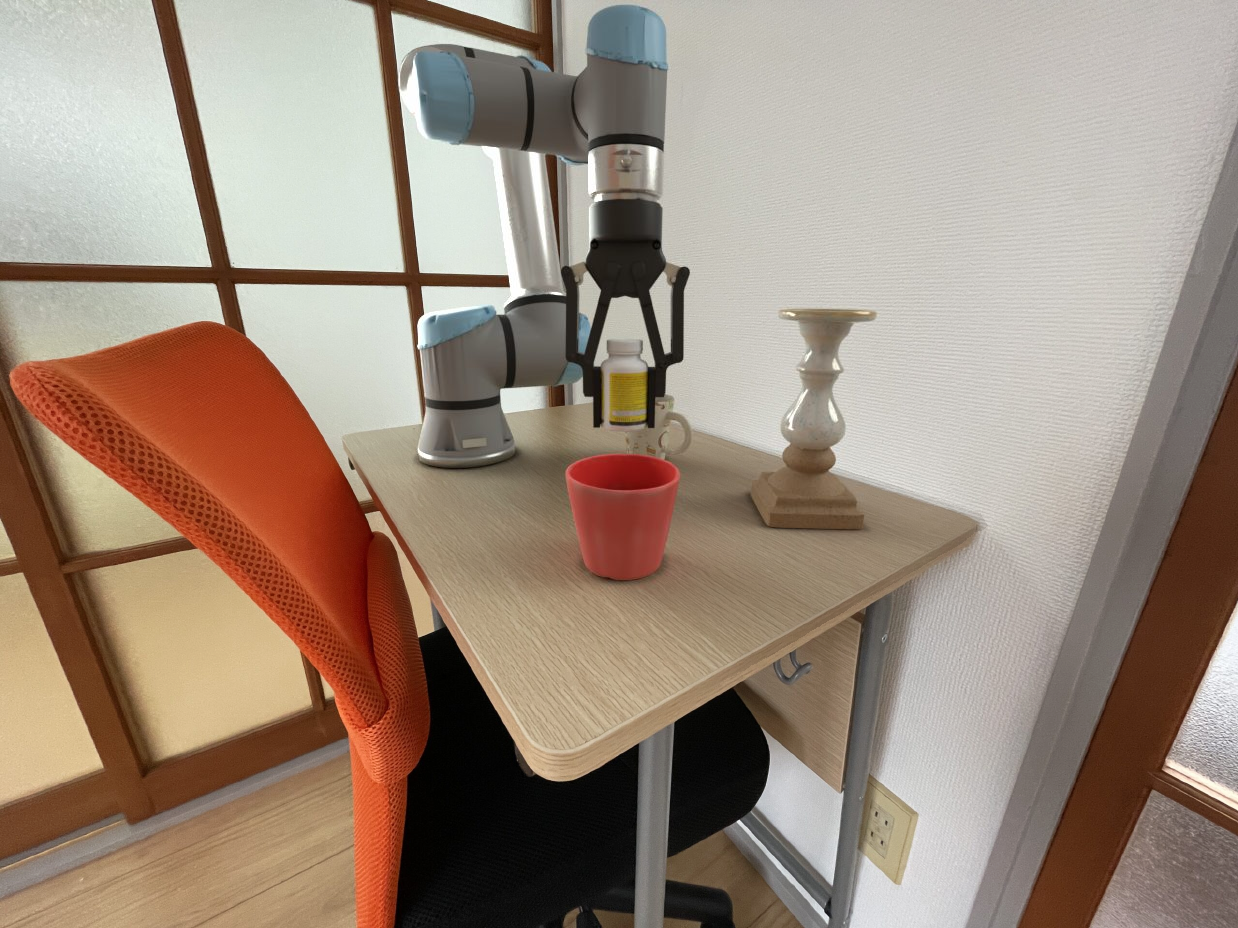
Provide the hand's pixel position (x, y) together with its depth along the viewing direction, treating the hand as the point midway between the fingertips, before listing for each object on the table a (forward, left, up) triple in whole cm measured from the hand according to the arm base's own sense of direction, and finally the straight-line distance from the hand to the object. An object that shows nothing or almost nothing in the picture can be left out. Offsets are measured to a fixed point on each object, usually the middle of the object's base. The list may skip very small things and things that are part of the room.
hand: (623, 424), depth 61 cm
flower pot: (+9, -7, -11) cm, 16 cm away
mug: (-14, +18, -11) cm, 25 cm away
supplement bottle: (0, 0, -1) cm, 1 cm away
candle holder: (+12, +19, -11) cm, 25 cm away
